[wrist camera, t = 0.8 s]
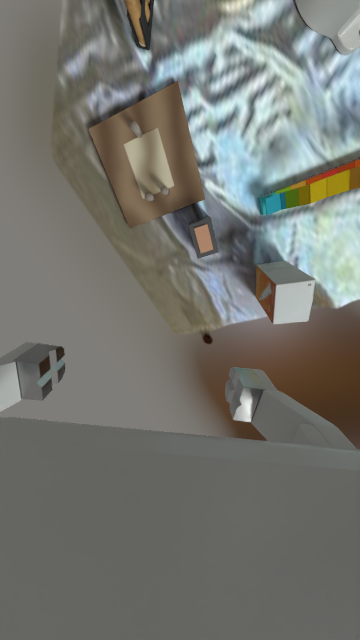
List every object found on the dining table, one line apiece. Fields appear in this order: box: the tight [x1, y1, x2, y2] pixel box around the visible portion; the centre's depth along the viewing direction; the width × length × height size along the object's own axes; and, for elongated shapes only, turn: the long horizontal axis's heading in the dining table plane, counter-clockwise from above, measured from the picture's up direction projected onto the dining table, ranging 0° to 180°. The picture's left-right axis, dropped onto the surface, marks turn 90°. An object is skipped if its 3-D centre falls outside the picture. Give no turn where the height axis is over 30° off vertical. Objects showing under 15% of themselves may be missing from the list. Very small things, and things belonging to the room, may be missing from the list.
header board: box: [89, 81, 205, 228], centre depth 34 cm, size 16×16×5 cm
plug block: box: [188, 216, 218, 258], centre depth 38 cm, size 4×6×7 cm, turn 18°
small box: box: [255, 261, 315, 324], centre depth 39 cm, size 8×6×13 cm
